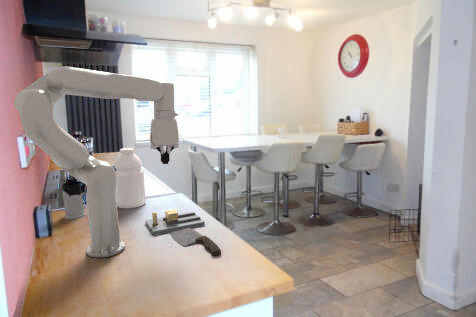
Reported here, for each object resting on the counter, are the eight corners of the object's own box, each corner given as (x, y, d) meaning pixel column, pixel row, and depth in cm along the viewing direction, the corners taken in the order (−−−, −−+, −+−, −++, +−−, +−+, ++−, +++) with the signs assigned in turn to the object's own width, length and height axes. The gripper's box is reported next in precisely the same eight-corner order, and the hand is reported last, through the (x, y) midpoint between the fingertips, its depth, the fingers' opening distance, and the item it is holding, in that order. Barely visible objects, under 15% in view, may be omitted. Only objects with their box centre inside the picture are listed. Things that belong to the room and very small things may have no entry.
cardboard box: (178, 221, 142) (177, 212, 142) (168, 223, 141) (168, 213, 140) (174, 218, 147) (174, 208, 146) (165, 219, 145) (164, 210, 144)
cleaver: (227, 253, 117) (227, 247, 117) (202, 261, 112) (201, 255, 112) (187, 228, 141) (187, 223, 141) (165, 234, 136) (164, 229, 135)
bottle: (130, 199, 183) (126, 146, 178) (151, 202, 177) (147, 147, 172) (110, 207, 170) (105, 150, 165) (132, 210, 164) (127, 151, 159)
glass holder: (62, 215, 160) (58, 183, 157) (94, 208, 169) (90, 178, 166) (67, 220, 153) (63, 187, 150) (100, 212, 162) (97, 181, 159)
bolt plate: (204, 225, 143) (204, 209, 142) (153, 235, 134) (152, 219, 133) (193, 215, 155) (192, 201, 154) (145, 223, 146) (144, 208, 145)
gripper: (180, 115, 138) (181, 161, 140) (141, 115, 131) (143, 163, 134) (186, 115, 131) (187, 163, 134) (146, 115, 124) (147, 166, 127)
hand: (165, 163), depth 134 cm, fingers closed
